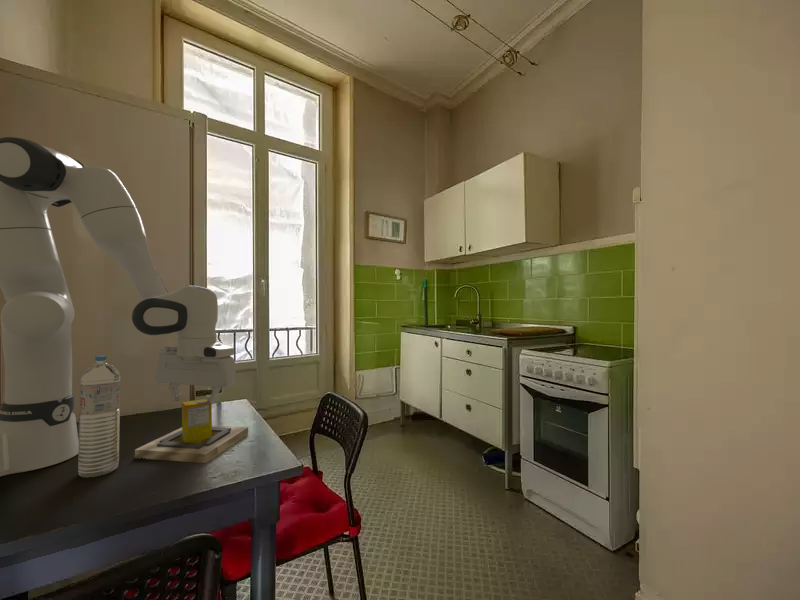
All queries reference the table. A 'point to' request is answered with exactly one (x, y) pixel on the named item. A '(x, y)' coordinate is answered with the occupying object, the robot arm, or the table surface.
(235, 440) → the socket block
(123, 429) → the table surface
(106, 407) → the water bottle
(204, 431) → the supplement box
